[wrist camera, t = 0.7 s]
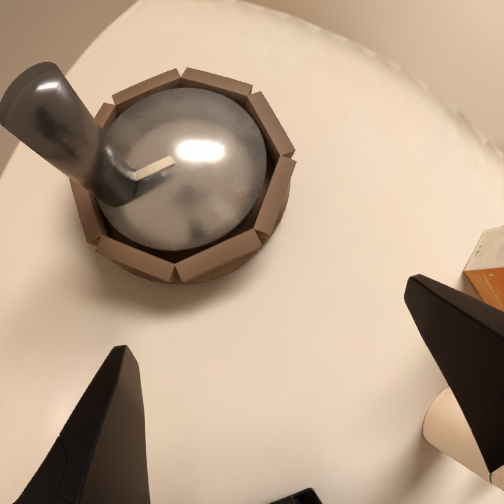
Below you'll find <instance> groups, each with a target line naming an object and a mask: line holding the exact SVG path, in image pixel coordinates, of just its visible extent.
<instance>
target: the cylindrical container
mask: <svg viewBox="0 0 504 504" xmlns="http://www.w3.org/2000/svg"><path fill="white" fill-rule="evenodd" d="M423 435H424V438H425V439H426V441H428V442H429V443H430V444H432V445H433V446H435V447H436V448H438V449H439V450H441V451H442V452H444V453H445V454H447V455H448V456H450V457H451V458H453V459H454V460H456V461H457V462H459V463H460V464H462V465H463V466H465V467H466V468H468V469H469V470H471V471H473V472H474V473H476V474H477V475H479V476H480V477H482V478H484V479H485V480H487V481H488V482H490V483H492V484H493V485H495V486H496V487H498V488H500V489H501V490H503V491H504V465H503V466H502V467H500V468H499V469H497V470H495V471H494V472H492V473H491V474H490V473H489V471H488V469H487V466H486V464H485V462H484V459H483V457H482V454H481V452H480V450H479V447H478V445H477V443H476V440H475V438H474V436H473V434H472V432H471V429H470V427H469V425H468V423H467V421H466V419H465V417H464V414H463V412H462V410H461V408H460V406H459V404H458V402H457V400H456V398H455V396H454V394H453V393H452V391H451V389H450V387H447V388H446V389H444V390H443V391H442V392H441V393H440V394H439V395H438V396H437V397H436V399H435V400H434V401H433V403H432V404H431V406H430V408H429V409H428V412H427V414H426V416H425V420H424V424H423Z"/></svg>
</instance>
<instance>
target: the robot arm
mask: <svg viewBox="0 0 504 504" xmlns="http://www.w3.org/2000/svg"><path fill="white" fill-rule="evenodd" d="M404 300H405V303H406V305H407V307H408V309H409V311H410V313H411V315H412V318H413V320H414V322H415V324H416V326H417V328H418V330H419V332H420V334H421V336H422V338H423V340H424V342H425V344H426V345H427V347H428V349H429V351H430V352H431V354H432V356H433V358H434V359H435V361H436V363H437V365H438V366H439V368H440V370H441V372H442V374H443V376H444V377H445V379H446V381H447V383H448V385H449V387H450V389H451V391H452V393H453V394H454V396H455V398H456V400H457V402H458V404H459V406H460V408H461V410H462V412H463V414H464V417H465V419H466V421H467V423H468V425H469V427H470V429H471V432H472V434H473V436H474V438H475V440H476V443H477V445H478V447H479V450H480V452H481V454H482V457H483V459H484V462H485V464H486V466H487V469H488V471H489V473H490V474H491V473H492V472H494V471H495V470H497V469H499V468H500V467H502V466H503V465H504V312H503V311H501V310H499V309H497V308H495V307H493V306H490V305H488V304H486V303H484V302H482V301H480V300H478V299H475V298H473V297H471V296H469V295H467V294H464V293H462V292H460V291H458V290H456V289H453V288H451V287H449V286H447V285H444V284H442V283H440V282H437V281H435V280H433V279H431V278H428V277H426V276H424V275H421V274H417V275H414V276H411V277H409V279H408V281H407V285H406V289H405V293H404ZM59 435H60V436H58V437H57V439H56V441H55V443H54V444H53V446H52V448H51V449H50V451H49V453H48V455H47V456H46V458H45V459H44V461H43V463H42V464H41V466H40V467H39V469H38V470H37V472H36V473H35V475H34V476H33V477H32V479H31V480H30V482H29V483H28V485H27V486H26V488H25V489H24V491H23V492H22V494H21V495H20V497H19V498H18V499H17V500H16V501H15V502H14V503H13V504H151V503H150V494H149V484H148V473H147V459H146V441H145V416H144V405H143V398H142V390H141V381H140V372H139V365H138V362H137V360H136V359H135V357H134V356H133V354H132V352H131V350H130V349H129V347H128V346H127V345H121V346H115V347H114V348H113V349H112V350H111V352H110V353H109V355H108V356H107V358H106V359H105V361H104V362H103V364H102V365H101V367H100V368H99V370H98V372H97V373H96V375H95V376H94V378H93V379H92V381H91V383H90V384H89V386H88V387H87V389H86V391H85V392H84V394H83V395H82V397H81V399H80V400H79V402H78V404H77V405H76V407H75V409H74V410H73V412H72V414H71V415H70V417H69V419H68V420H67V422H66V424H65V425H64V427H63V429H62V431H61V432H60V434H59ZM309 492H311V493H309ZM307 493H308V494H307ZM271 504H322V502H321V501H320V499H319V498H318V496H317V494H316V493H315V491H314V490H313V489H312V488H308V489H305V490H303V491H301V492H298V493H296V494H294V495H291V496H289V497H287V498H284V499H282V500H279V501H276V502H274V503H271Z"/></svg>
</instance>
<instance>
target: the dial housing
mask: <svg viewBox="0 0 504 504" xmlns="http://www.w3.org/2000/svg"><path fill="white" fill-rule="evenodd" d="M252 86H253V85H250V84H247V83H244V82H241V81H237V80H234V79H231V78H227V77H223V76H220V75H216V74H212V73H208V72H204V71H200V70H196V69H192V68H188V67H187V68H186V70H185V71H184V73H183V74H182V76H181V77H180V75H179V73H178V71H177V69H176V68H175V69H173V70H170V71H167V72H165V73H162V74H160V75H157V76H155V77H152V78H150V79H147V80H145V81H143V82H140V83H138V84H136V85H133V86H131V87H129V88H127V89H125V90H122V91H120V92H118V93H116V94H114V95H112V97H113V101H114V104H115V105H112V104H107V103H103V105H102V106H101V108H100V110H99V111H98V113H97V115H96V116H95V118H94V119H95V121H96V122H97V123H98V125H99V126H100V127H101V129H102V130H103V132H104V133H106V132H107V130H108V129H109V127H110V126H111V125H112V123H113V122H114V121H115V120H116V119H117V118H118V117H119V116H120V115H121V114H122V113H123V112H124V111H125V110H127V109H128V108H129V107H130V106H132V105H133V104H135V103H136V102H138V101H140V100H141V99H143V98H145V97H148V96H150V95H152V94H155V93H158V92H161V91H165V90H169V89H176V88H198V89H204V90H209V91H212V92H215V93H218V94H221V95H223V96H225V97H227V98H229V99H231V100H232V101H234V102H235V103H237V104H238V105H239V106H241V107H242V108H243V109H244V110H245V111H246V112H247V113H248V114H249V115H250V116H251V118H252V119H253V120H254V122H255V123H256V125H257V126H258V128H259V131H260V133H261V135H262V138H263V141H264V144H265V150H266V173H265V179H264V182H263V186H262V189H261V192H260V194H259V197H258V199H257V201H256V203H255V206H254V208H253V209H252V211H251V212H250V214H249V215H248V217H247V218H246V219H245V220H244V222H243V223H242V224H241V225H240V226H239V227H238V228H237V229H236V230H235V231H234V232H233V233H231V234H230V235H228V236H227V237H226V238H224V239H223V240H221V241H219V242H217V243H215V244H213V245H211V246H208V247H206V248H203V249H200V250H195V251H191V252H182V253H168V252H162V251H157V250H153V249H150V248H147V247H145V246H143V245H141V244H139V243H137V242H135V241H133V240H131V239H129V238H127V237H126V236H124V235H123V234H121V233H120V232H119V231H118V230H117V229H116V228H115V227H113V226H112V224H111V223H110V222H109V221H108V219H107V218H106V217H105V215H104V214H103V212H102V210H101V208H100V206H99V204H98V201H97V199H96V197H95V196H94V195H92V194H91V193H89V192H88V191H87V190H85V189H84V188H83V187H81V186H80V185H78V184H77V183H76V182H74V181H73V180H72V179H70V178H69V179H70V183H71V187H72V191H73V195H74V199H75V202H76V206H77V209H78V213H79V216H80V219H81V223H82V226H83V229H84V232H85V235H86V239H87V242H88V243H90V244H93V245H96V246H97V248H96V252H98V253H100V254H103V255H105V256H107V257H109V258H110V259H112V260H113V261H114V262H115V263H116V264H118V265H119V266H121V267H122V268H123V269H125V270H127V271H129V272H131V273H133V274H135V275H137V276H139V277H142V278H145V279H148V280H151V281H156V282H161V283H170V284H188V283H198V282H202V281H206V280H210V279H214V278H216V277H219V276H221V275H224V274H226V273H228V272H230V271H232V270H234V269H235V268H237V267H239V266H240V265H242V264H243V263H245V262H246V261H247V260H249V259H250V258H251V257H252V256H253V255H254V254H255V253H256V252H257V251H259V250H260V249H261V248H262V247H263V245H264V244H265V243H266V242H267V240H268V239H269V238H270V237H271V235H272V234H273V232H274V231H275V229H276V227H277V226H278V224H279V222H280V220H281V218H282V215H283V213H284V211H285V208H286V204H287V201H288V197H289V190H290V179H291V176H292V173H293V170H294V167H295V165H296V162H297V161H294V160H292V159H291V158H292V156H293V154H294V152H295V149H294V147H293V145H292V143H291V141H290V140H289V138H288V136H287V134H286V132H285V131H284V129H283V127H282V126H281V124H280V122H279V120H278V119H277V117H276V115H275V114H274V112H273V110H272V109H271V107H270V105H269V104H268V102H267V100H266V99H265V97H264V95H263V94H262V92H257V93H254V94H251V92H252Z"/></svg>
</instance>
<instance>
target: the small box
mask: <svg viewBox="0 0 504 504" xmlns="http://www.w3.org/2000/svg"><path fill="white" fill-rule="evenodd" d="M464 273H465V274H466V276H467V277H468V278H469V280H470V281H471V283H472V284H473V286H474V287H475V289H476V290H477V292H478V294H479V295H480V297H481V298H482V300H483V302H484V303H486V304H488V305H490V306H493V307H495V308H497V309H499V310H501V311H503V312H504V226H501V227H497V228H492V229H488V230H485V231H484V232H483V234H482V236H481V238H480V240H479V242H478V244H477V246H476V248H475V250H474V252H473V254H472V256H471V258H470V260H469V262H468V264H467V265H466V267H465V269H464Z"/></svg>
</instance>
